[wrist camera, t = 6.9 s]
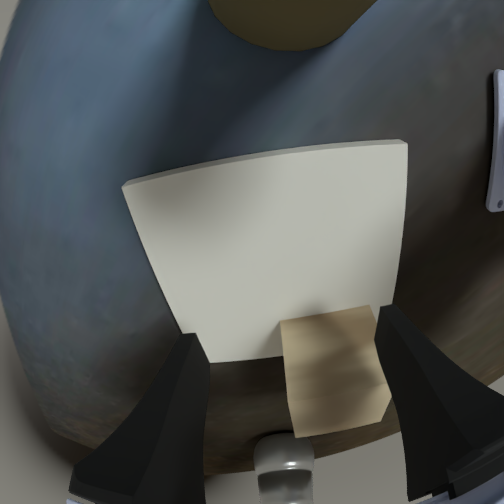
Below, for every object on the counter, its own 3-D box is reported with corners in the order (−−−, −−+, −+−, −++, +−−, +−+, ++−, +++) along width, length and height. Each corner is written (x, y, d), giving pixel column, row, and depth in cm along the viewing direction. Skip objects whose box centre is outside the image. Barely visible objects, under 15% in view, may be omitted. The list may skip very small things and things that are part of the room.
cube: (369, 304, 15) (398, 379, 11) (362, 356, 18) (380, 421, 14) (279, 320, 16) (288, 402, 11) (288, 370, 18) (295, 438, 14)
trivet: (399, 139, 11) (407, 143, 10) (380, 328, 17) (384, 337, 17) (128, 180, 12) (121, 187, 11) (199, 353, 18) (198, 363, 18)
